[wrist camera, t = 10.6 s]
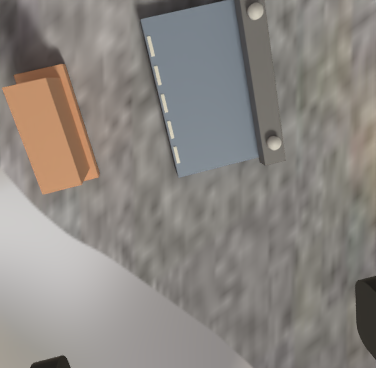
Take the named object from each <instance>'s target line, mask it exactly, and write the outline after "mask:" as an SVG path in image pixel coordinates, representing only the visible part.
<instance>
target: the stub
mask: <svg viewBox="0 0 376 368" xmlns="http://www.w3.org/2000/svg"><path fill="white" fill-rule="evenodd" d="M14 78H15V80H16V83H17V84H16V85H12V86H8V87H3V88H2V89H3V92H4V94H5V97H6V100H7V102H8V105H9V107H10V110H11V113H12V115H13V118H14V120H15V123H16V126H17V128H18V131H19V134H20V136H21V139H22V141H23V144H24V147H25V149H26V152H27V155H28V157H29V160H30V162H31V165H32V168H33V170H34V173H35V176H36V178H37V181H38V183H39V186H40V189H41V191H42V194H47V193H51V192H55V191H59V190H63V189H67V188H71V187H75V186H79V185H82V183H83V181H86V180H90V179H94V178H98V177H99V175H100V172H99V169H98V166H97V163H96V160H95V157H94V154H93V150H92V147H91V144H90V141H89V138H88V135H87V132H86V128H85V125H84V122H83V119H82V116H81V113H80V109H79V106H78V103H77V100H76V97H75V94H74V91H73V87H72V84H71V81H70V78H69V75H68V72H67V69H66V65H65V64H59V65H55V66H51V67H46V68H42V69H37V70H33V71H29V72H24V73H20V74H15V75H14Z"/></svg>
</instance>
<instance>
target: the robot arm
mask: <svg viewBox="0 0 376 368" xmlns="http://www.w3.org/2000/svg"><path fill="white" fill-rule="evenodd" d="M355 293H356V323H357V329H358V333H359V335H360V338H361V340H362V342H363V344H364V345H365V347H366V348H367V350H368V351H369V352H370V353H371V354H372V356H373V357H374V358H375V359H376V276H373V277H369V278H365V279H362V280H358V281H357V282H356V285H355ZM30 368H70V365H69V363H68V360H67V358H66V357H65V356H59V357H54V358H51V359H47V360H43V361H39V362H35V363H33V364H32V365H31V367H30Z"/></svg>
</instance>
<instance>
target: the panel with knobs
mask: <svg viewBox="0 0 376 368" xmlns="http://www.w3.org/2000/svg"><path fill="white" fill-rule="evenodd" d="M140 22H141V26H142V30H143V34H144V38H145V42H146V47H147V51H148V55H149V59H150V63H151V67H152V71H153V76H154V80H155V84H156V88H157V92H158V96H159V100H160V105H161V109H162V113H163V117H164V121H165V125H166V129H167V133H168V138H169V142H170V146H171V150H172V154H173V158H174V162H175V167H176V171H177V175H178V177H179V178H180V177H184V176H187V175H191V174H195V173H199V172H203V171H207V170H211V169H215V168H219V167H223V166H226V165H230V164H234V163H238V162H242V161H246V160H250V159H254V158H258V157H259V160H260V162H261V163H262V164H263V165H265V166H266V165H270V164H274V163H278V162H282V161H286V159H285V152H284V144H283V137H282V129H281V122H280V114H279V107H278V99H277V92H276V84H275V77H274V69H273V62H272V54H271V47H270V39H269V32H268V24H267V17H266V9H265V2H264V0H225V1H221V2H216V3H212V4H207V5H203V6H198V7H193V8H189V9H184V10H180V11H175V12H171V13H166V14H162V15H157V16H153V17H148V18H144V19H141V21H140Z"/></svg>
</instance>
